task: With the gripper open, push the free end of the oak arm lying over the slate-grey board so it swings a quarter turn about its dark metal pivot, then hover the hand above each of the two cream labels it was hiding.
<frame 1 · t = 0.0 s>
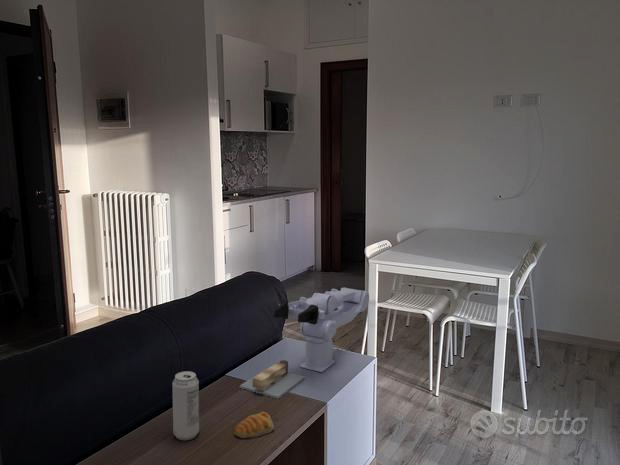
hand: (287, 316, 148), 22 cm above the table, tool horizontal, fingers open, 7 cm apart
energy drink can: (186, 435, 126), on the table
label board: (272, 383, 155), on the table
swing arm: (272, 375, 154), point 3 cm above the table, hinge at 0.0°
pastry: (255, 432, 129), on the table
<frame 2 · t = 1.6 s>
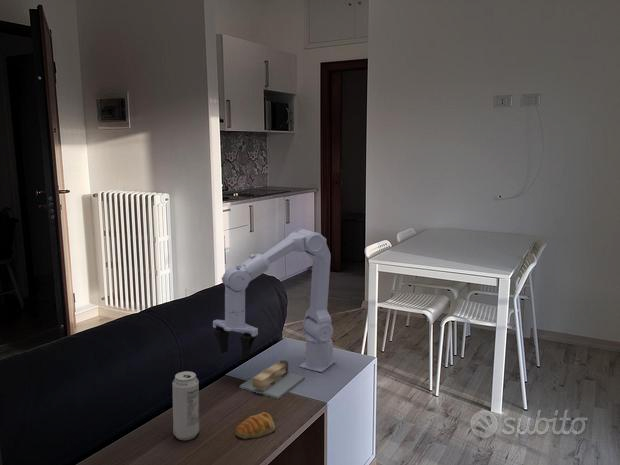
hand: (234, 355, 154), 8 cm above the table, tool pointing down, fingers open, 7 cm apart
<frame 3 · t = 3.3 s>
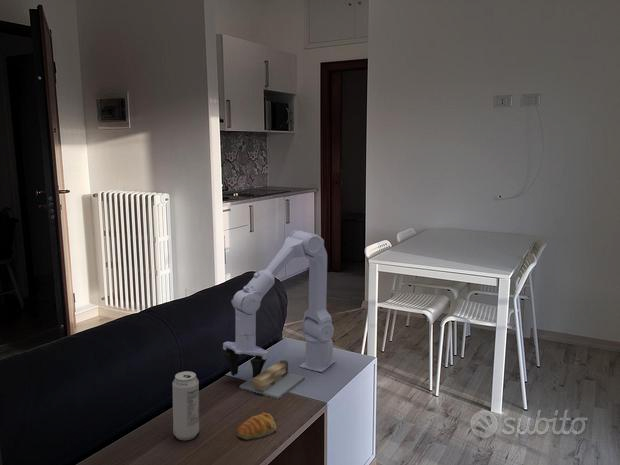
hand: (245, 377, 153), 2 cm above the table, tool pointing down, fingers open, 7 cm apart
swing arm: (272, 375, 154), point 3 cm above the table, hinge at 0.0°, touching gripper
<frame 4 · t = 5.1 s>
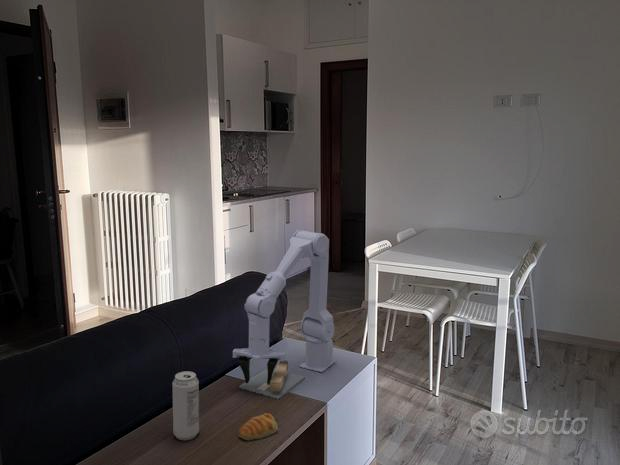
hand: (258, 382, 149), 3 cm above the table, tool pointing down, fingers open, 6 cm apart
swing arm: (280, 376, 153), point 3 cm above the table, hinge at 21.7°, touching gripper
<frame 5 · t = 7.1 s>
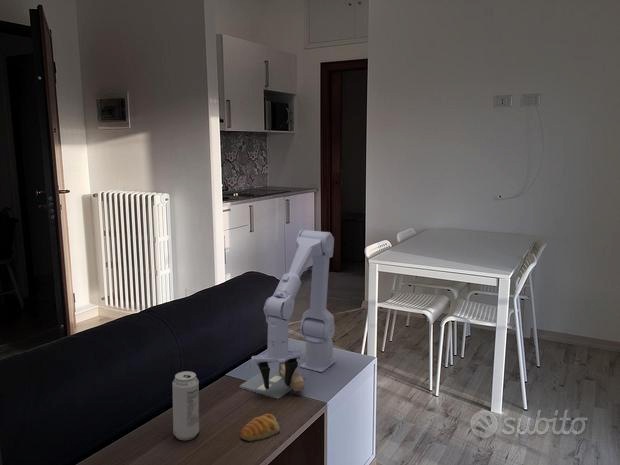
hand: (277, 386, 148), 2 cm above the table, tool pointing down, fingers open, 5 cm apart
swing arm: (290, 376, 153), point 3 cm above the table, hinge at 48.9°, touching gripper
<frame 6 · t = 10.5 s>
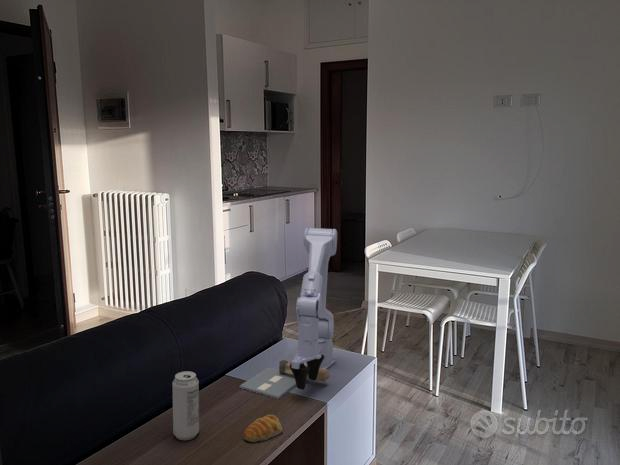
hand: (306, 383, 150), 2 cm above the table, tool pointing down, fingers open, 6 cm apart
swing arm: (302, 371, 157), point 3 cm above the table, hinge at 91.8°, touching gripper
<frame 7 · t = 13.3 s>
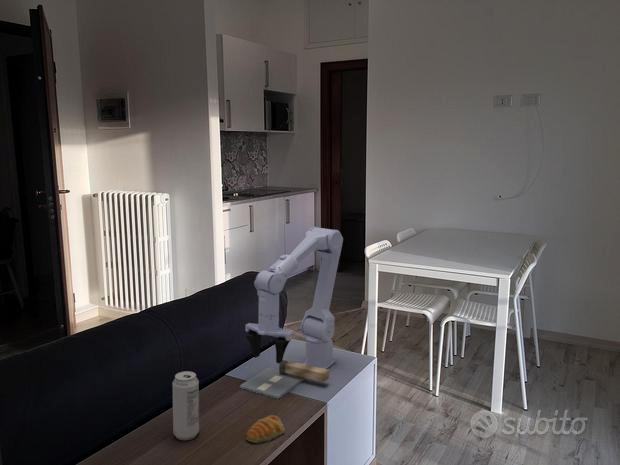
hand: (267, 359, 151), 9 cm above the table, tool pointing down, fingers open, 7 cm apart
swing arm: (302, 371, 157), point 3 cm above the table, hinge at 91.8°
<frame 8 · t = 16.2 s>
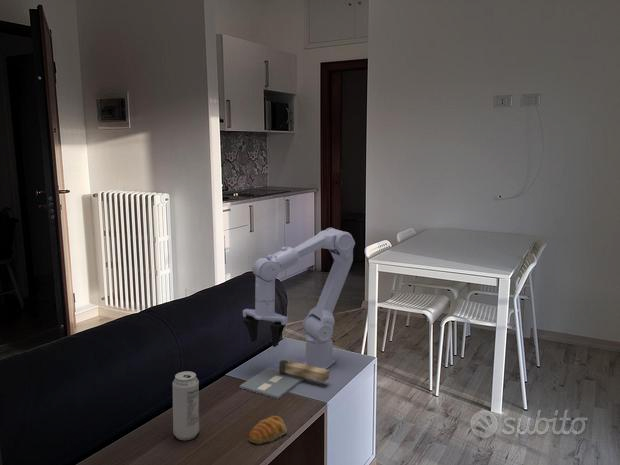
hand: (264, 343, 158), 10 cm above the table, tool pointing down, fingers open, 7 cm apart
at the end: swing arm at +92° (first picture: +0°) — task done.
